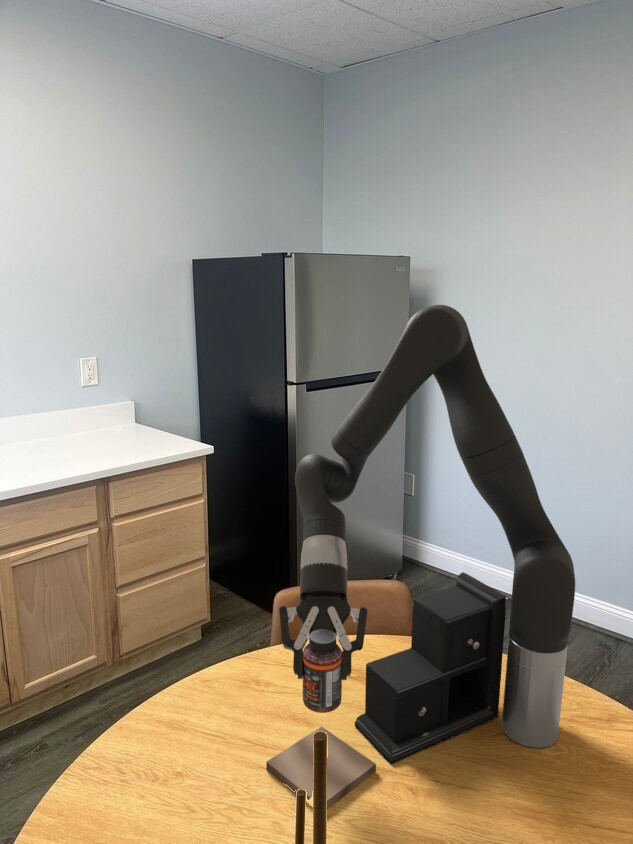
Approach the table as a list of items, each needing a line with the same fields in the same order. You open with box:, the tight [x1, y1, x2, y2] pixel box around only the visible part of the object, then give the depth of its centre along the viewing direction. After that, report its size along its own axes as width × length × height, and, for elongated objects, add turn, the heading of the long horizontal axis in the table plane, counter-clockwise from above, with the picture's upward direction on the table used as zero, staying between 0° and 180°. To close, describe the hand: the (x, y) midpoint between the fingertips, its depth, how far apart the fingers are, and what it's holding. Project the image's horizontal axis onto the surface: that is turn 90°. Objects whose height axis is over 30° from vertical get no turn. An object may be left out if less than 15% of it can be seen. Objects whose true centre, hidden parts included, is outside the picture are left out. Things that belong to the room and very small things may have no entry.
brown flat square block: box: [265, 726, 377, 810], centre depth 103 cm, size 12×12×2 cm
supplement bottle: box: [302, 629, 343, 714], centre depth 100 cm, size 6×6×11 cm
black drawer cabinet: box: [354, 571, 507, 765], centre depth 113 cm, size 23×11×24 cm, turn 120°
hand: (322, 678), depth 99 cm, fingers closed on supplement bottle, 6 cm apart
